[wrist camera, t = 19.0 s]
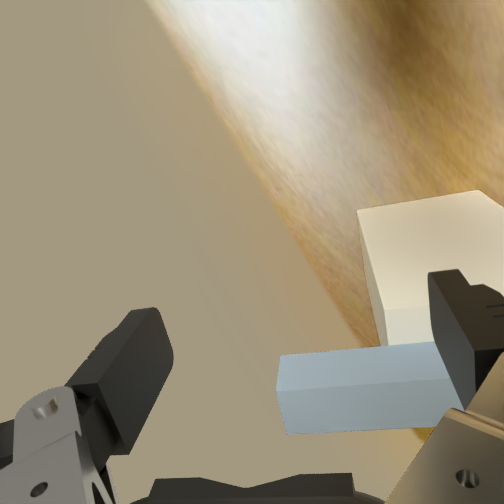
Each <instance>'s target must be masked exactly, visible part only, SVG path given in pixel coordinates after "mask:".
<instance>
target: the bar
mask: <svg viewBox="0 0 504 504" xmlns="http://www.w3.org/2000/svg"><path fill="white" fill-rule="evenodd" d="M276 394H277V398H278V402H279V406H280V409H281V414H282V417H283V422H284V425H285V430H286V434H287V435H288V434H308V433H328V432H347V431H366V430H383V429H384V430H385V429H404V428H424V427H436V426H437V424H438V423H439V421H440V420H441V418H442V417H443V415H444V414H445V413H446V411H448V410H449V409H450V408H456V409H458V410H461V411H464V409H463V406H462V404H461V402H460V399H459V397H458V395H457V393H456V390H455V388H454V386H453V383H452V381H451V379H450V376H449V374H448V372H447V370H446V367H445V365H444V363H443V360H442V358H441V356H440V353H439V351H438V349H437V347H436V344H435V341H431V342H421V343H410V344H400V345H389V346H378V347H368V348H357V349H347V350H336V351H326V352H316V353H305V354H295V355H284V356H281V357H280V364H279V372H278V379H277V387H276ZM464 412H465V411H464Z"/></svg>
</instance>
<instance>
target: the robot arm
mask: <svg viewBox="0 0 504 504" xmlns="http://www.w3.org/2000/svg"><path fill="white" fill-rule="evenodd" d="M427 281H428V294H429V307H430V320H431V328H432V333H433V338H434V341H435V344H436V347H437V349H438V351H439V353H440V356H441V358H442V360H443V363H444V365H445V367H446V370H447V372H448V374H449V376H450V379H451V381H452V383H453V386H454V388H455V390H456V393H457V395H458V397H459V399H460V402H461V404H462V406H463V409H464V411H465V412H464V411H461V410H458V409H456V408H450V409H449V410H448V411H446V413H445V414H444V415H443V417H442V418H441V420H440V421H439V423H438V424H437V426H436V427H435V429H434V430H433V432H432V433H431V435H430V436H429V438H428V439H427V440H426V442H425V443H424V445H423V446H422V448H421V449H420V451H419V452H418V454H417V455H416V457H415V458H414V460H413V461H412V463H411V465H410V466H409V467H408V469H407V470H406V472H405V473H404V475H403V476H402V478H401V480H400V481H399V482H398V484H397V485H396V487H395V488H394V490H393V491H392V493H391V494H390V496H389V497H388V499H387V500H386V502H385V501H383V500H381V499H379V498H377V497H374V496H371V495H368V494H365V493H361V492H357V491H355V488H354V483H353V477H352V473H331V474H299V475H296V476H292V477H288V478H284V479H281V480H277V481H274V482H269V483H265V484H262V485H258V486H255V487H250V488H242V487H237V486H233V485H229V484H225V483H221V482H217V481H213V480H208V479H204V478H200V477H199V478H170V479H169V478H168V479H155V481H154V484H153V486H152V489H151V491H150V494H149V496H148V497H145V498H142V499H140V500H137V501H135V502H132V503H131V504H504V297H503V295H502V294H501V293H500V292H498V291H496V290H494V289H492V288H490V287H488V286H486V285H484V284H478V285H470V284H469V283H468V281H467V280H466V278H465V277H464V276H463V274H462V273H461V272H460V270H459V269H451V270H443V271H435V272H429V273H428V277H427ZM172 366H173V350H172V346H171V343H170V340H169V338H168V335H167V332H166V329H165V326H164V323H163V320H162V317H161V315H160V312H159V311H158V309H157V308H154V307H152V308H144V309H137V310H131V311H130V312H129V313H128V315H127V316H126V317H125V318H124V319H123V321H122V322H121V323H120V324H119V326H118V327H117V328H116V329H115V330H113V331H112V332H110V333H109V334H108V335H106V336H105V337H104V338H103V339H102V340H101V342H99V344H98V345H97V346H96V347H95V350H93V351H92V352H91V354H90V355H89V356H88V359H86V360H85V361H84V362H83V363H82V365H81V366H80V367H79V368H78V369H77V371H76V372H75V373H74V374H73V376H72V377H71V378H70V379H69V380H68V382H67V383H66V384H65V385H64V386H61V387H55V388H51V389H48V390H46V391H43V392H41V393H39V394H38V395H36V396H34V397H33V398H31V399H30V400H29V401H27V402H26V403H25V404H24V405H23V406H22V407H21V408H20V409H19V411H18V412H17V414H16V416H15V419H13V420H10V421H7V422H3V423H0V504H119V501H118V497H117V493H116V490H115V486H114V482H113V478H112V474H111V471H110V468H109V466H108V464H107V460H108V458H109V456H110V455H129V454H130V451H131V450H132V448H133V445H134V443H135V441H136V440H137V438H138V436H139V433H140V432H141V430H142V427H143V425H144V424H145V421H146V419H147V417H148V415H149V413H150V411H151V409H152V407H153V405H154V403H155V401H156V399H157V397H158V395H159V393H160V391H161V389H162V387H163V385H164V383H165V381H166V379H167V377H168V375H169V373H170V371H171V369H172Z"/></svg>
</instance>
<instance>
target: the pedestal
mask: <svg viewBox="0 0 504 504" xmlns="http://www.w3.org/2000/svg"><path fill="white" fill-rule="evenodd" d="M356 213H357V220H358V227H359V235H360V242H361V249H362V257H363V264H364V271H365V278H366V284H367V288H368V293H369V297H370V301H371V306H372V310H373V314H374V319H375V323H376V327H377V332H378V336H379V340H380V345H381V346H389V345H400V344H410V343H421V342H431V341H434V338H433V333H432V328H431V320H430V307H429V294H428V281H427V277H428V273H429V272H435V271H443V270H451V269H459V270H460V272H461V273H462V274H463V276H464V277H465V278H466V280H467V281H468V283H469V284H470V285H478V284H484V285H486V286H488V287H490V288H492V289H494V290H496V291H498V292H500V293H501V294H502V295H503V297H504V208H503V207H502V206H500V205H499V204H497V203H496V202H495V201H493V200H492V199H490V198H489V197H488V196H486V195H485V194H484V193H482V192H481V191H479V190H474V191H468V192H462V193H456V194H450V195H444V196H438V197H432V198H426V199H420V200H414V201H408V202H402V203H396V204H390V205H384V206H378V207H372V208H366V209H360V210H356Z"/></svg>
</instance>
